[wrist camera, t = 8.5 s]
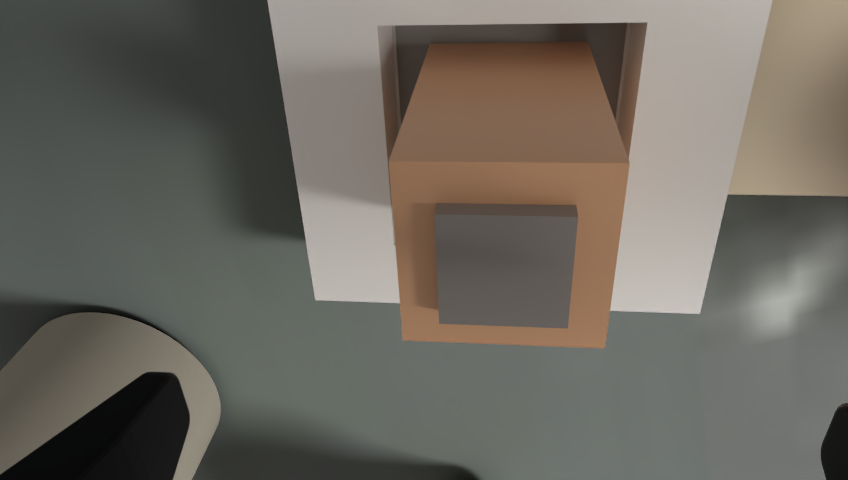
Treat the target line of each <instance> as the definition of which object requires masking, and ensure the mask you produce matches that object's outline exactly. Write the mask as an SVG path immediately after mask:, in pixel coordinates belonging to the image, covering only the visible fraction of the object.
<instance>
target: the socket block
mask: <svg viewBox="0 0 848 480" xmlns="http://www.w3.org/2000/svg"><path fill="white" fill-rule="evenodd" d="M267 1H268V7H269V13H270V20H271V26H272V32H273V38H274V45H275V51H276V57H277V63H278V70H279V76H280V82H281V88H282V95H283V101H284V107H285V113H286V120H287V126H288V132H289V138H290V145H291V151H292V157H293V163H294V170H295V176H296V182H297V188H298V195H299V201H300V207H301V213H302V220H303V226H304V232H305V239H306V245H307V251H308V257H309V264H310V270H311V276H312V282H313V289H314V295H315V300H328V301H356V302H383V303H400V298H399V286H398V273H397V260H396V248H395V235H394V222H393V210H392V197H391V185H390V172H389V159H390V156H391V153H392V150H393V148H394V145H395V142H396V139H397V136H398V133H399V131H400V128H401V125H402V122H403V119H404V116H405V114H406V111H407V108H408V105H409V102H410V99H411V97H412V94H413V91H414V88H415V85H416V82H417V80H418V77H419V74H420V71H421V68H422V65H423V62H424V60H425V57H426V54H427V51H428V48H429V45H430V44H443V43H523V42H588V43H589V46H590V49H591V52H592V55H593V58H594V61H595V64H596V67H597V70H598V72H599V75H600V78H601V81H602V84H603V87H604V90H605V93H606V96H607V98H608V101H609V104H610V107H611V110H612V113H613V116H614V119H615V122H616V125H617V127H618V130H619V133H620V136H621V139H622V142H623V145H624V148H625V151H626V153H627V156H628V159H629V162H630V166H629V174H628V181H627V188H626V196H625V203H624V211H623V218H622V226H621V233H620V240H619V248H618V255H617V263H616V270H615V278H614V285H613V292H612V300H611V307H610V311H634V312H662V313H690V314H700V311H701V307H702V302H703V298H704V294H705V289H706V285H707V281H708V276H709V272H710V268H711V264H712V259H713V255H714V251H715V246H716V242H717V238H718V233H719V229H720V225H721V220H722V216H723V212H724V208H725V203H726V199H727V195H728V190H729V186H730V182H731V177H732V173H733V169H734V164H735V160H736V156H737V152H738V147H739V143H740V139H741V134H742V130H743V126H744V121H745V117H746V113H747V108H748V104H749V100H750V95H751V91H752V87H753V83H754V78H755V74H756V70H757V65H758V61H759V57H760V52H761V48H762V44H763V39H764V35H765V31H766V27H767V22H768V18H769V14H770V9H771V5H772V1H773V0H267Z"/></svg>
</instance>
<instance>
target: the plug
mask: <svg viewBox="0 0 848 480" xmlns="http://www.w3.org/2000/svg"><path fill="white" fill-rule="evenodd" d="M629 166H630V162H629V159H628V156H627V153H626V151H625V148H624V145H623V142H622V139H621V136H620V133H619V130H618V127H617V125H616V122H615V119H614V116H613V113H612V110H611V107H610V104H609V101H608V98H607V96H606V93H605V90H604V87H603V84H602V81H601V78H600V75H599V72H598V70H597V67H596V64H595V61H594V58H593V55H592V52H591V49H590V46H589V43H588V42H523V43H443V44H430V45H429V48H428V51H427V54H426V57H425V60H424V62H423V65H422V68H421V71H420V74H419V77H418V80H417V82H416V85H415V88H414V91H413V94H412V97H411V99H410V102H409V105H408V108H407V111H406V114H405V116H404V119H403V122H402V125H401V128H400V131H399V133H398V136H397V139H396V142H395V145H394V148H393V150H392V153H391V156H390V159H389V172H390V185H391V197H392V210H393V222H394V235H395V248H396V260H397V273H398V286H399V298H400V311H401V323H402V336H403V340H404V341H430V342H455V343H481V344H506V345H531V346H557V347H582V348H605V344H606V337H607V329H608V322H609V315H610V307H611V300H612V292H613V285H614V278H615V270H616V263H617V255H618V248H619V240H620V233H621V226H622V218H623V211H624V203H625V196H626V188H627V181H628V174H629Z"/></svg>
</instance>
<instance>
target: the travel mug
mask: <svg viewBox="0 0 848 480" xmlns="http://www.w3.org/2000/svg"><path fill="white" fill-rule="evenodd" d="M146 372H171V373H174V374H175V375H176V376H177V377H178V379H179V381H180V384H181V387H182V390H183V393H184V397H185V400H186V403H187V406H188V409H189V413H190V424H189V429H188V433H187V436H186V439H185V442H184V446H183V449H182V452H181V455H180V459H179V462H178V465H177V468H176V471H175V475H174V478H173V480H192V478H193V476H194V474H195V472H196V470H197V468H198V466H199V464H200V462H201V460H202V458H203V456H204V453H205V451H206V449H207V447H208V445H209V443H210V441H211V439H212V437H213V435H214V433H215V431H216V428H217V426H218V424H219V420H220V415H221V404H220V398H219V394H218V391H217V389H216V386H215V384H214V382H213V380H212V378H211V377H210V375H209V374H208V372H207V371H206V369H205V368H204V367H203V366H202V364H201V363H200V362H199V361H198V360H197V359H196V358H195V357H194V356H193V355H192V354H191V353H190V352H189V351H188V350H187V349H186V348H184V347H183V346H182V345H180V344H179V343H178V342H176V341H175V340H173V339H172V338H171V337H169V336H167V335H166V334H164V333H162V332H160V331H159V330H156V329H154V328H152V327H150V326H148V325H146V324H143V323H141V322H138V321H135V320H132V319H129V318H126V317H122V316H118V315H112V314H106V313H94V312H85V313H74V314H69V315H64V316H61V317H58V318H56V319H53V320H51V321H49V322H48V323H46V324H45V325H43V326H42V327H41V328H40V329H39V330H38V331H37V332H36V333H35V334H34V335H33V336H32V337H31V338H30V339H29V340H28V341H27V343H26V344H25V345H24V346H23V347H22V348H21V349H20V350H19V351H18V352H17V353H16V354H15V356H14V357H13V358H12V359H11V360H10V361H9V362H8V363H7V364H6V365H5V366H4V368H3V369H2V370H1V371H0V474H1V473H3V472H4V471H6V470H7V469H8V468H10V467H11V466H13V465H14V464H15V463H17V462H18V461H20V460H21V459H23V458H24V457H25V456H27V455H28V454H30V453H31V452H33V451H34V450H35V449H37V448H38V447H40V446H41V445H42V444H44V443H45V442H47V441H48V440H50V439H51V438H52V437H54V436H55V435H57V434H58V433H60V432H61V431H62V430H64V429H65V428H67V427H68V426H69V425H71V424H72V423H74V422H75V421H77V420H78V419H79V418H81V417H82V416H84V415H85V414H87V413H88V412H89V411H91V410H92V409H94V408H95V407H96V406H98V405H99V404H101V403H102V402H104V401H105V400H106V399H108V398H109V397H111V396H112V395H114V394H115V393H116V392H118V391H119V390H121V389H122V388H123V387H125V386H126V385H128V384H129V383H131V382H132V381H133V380H135V379H136V378H138V377H139V376H141V375H142V374H144V373H146Z"/></svg>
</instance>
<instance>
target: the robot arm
mask: <svg viewBox="0 0 848 480" xmlns="http://www.w3.org/2000/svg"><path fill="white" fill-rule="evenodd" d="M189 424H190V413H189V409H188V406H187V403H186V400H185V397H184V393H183V390H182V387H181V384H180V381H179V379H178V377H177V376H176V375H175V374H174V373H171V372H146V373H144V374H142V375H141V376H139V377H138V378H136V379H135V380H133V381H132V382H131V383H129V384H128V385H126V386H125V387H123V388H122V389H121V390H119V391H118V392H116V393H115V394H114V395H112V396H111V397H109V398H108V399H106V400H105V401H104V402H102V403H101V404H99V405H98V406H96V407H95V408H94V409H92V410H91V411H89V412H88V413H87V414H85V415H84V416H82V417H81V418H79V419H78V420H77V421H75V422H74V423H72V424H71V425H69V426H68V427H67V428H65V429H64V430H62V431H61V432H60V433H58V434H57V435H55V436H54V437H52V438H51V439H50V440H48V441H47V442H45V443H44V444H42V445H41V446H40V447H38V448H37V449H35V450H34V451H33V452H31V453H30V454H28V455H27V456H25V457H24V458H23V459H21V460H20V461H18V462H17V463H15V464H14V465H13V466H11V467H10V468H8V469H7V470H6V471H4V472H3V473H1V474H0V480H173V478H174V475H175V471H176V468H177V465H178V462H179V459H180V455H181V452H182V449H183V446H184V442H185V439H186V436H187V433H188V429H189ZM821 462H822V466H823V470H824V473H825V477H826V480H848V403H844V404H842V405H840V406H839V407H838V408H837V410H836V411H835V414H834V416H833V419H832V421H831V424H830V426H829V428H828V431H827V433H826V436H825V438H824V440H823V443H822V446H821Z"/></svg>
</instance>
